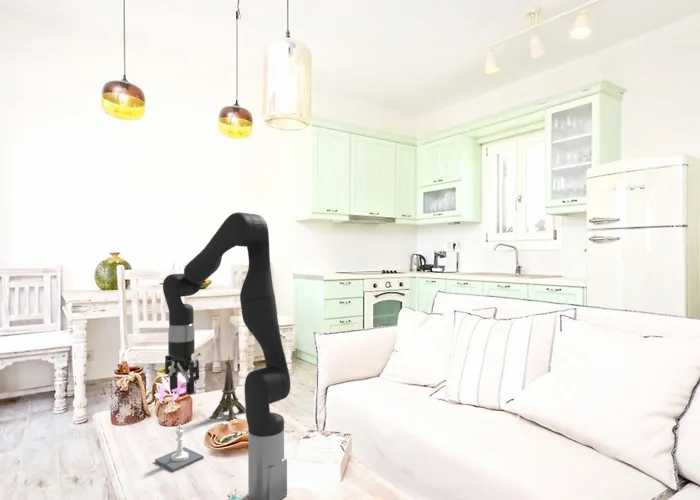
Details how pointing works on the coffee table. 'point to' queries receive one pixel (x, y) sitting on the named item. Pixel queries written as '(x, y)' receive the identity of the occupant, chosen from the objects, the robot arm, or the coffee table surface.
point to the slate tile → (178, 465)
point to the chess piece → (179, 447)
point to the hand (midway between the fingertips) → (181, 391)
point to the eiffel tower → (228, 397)
